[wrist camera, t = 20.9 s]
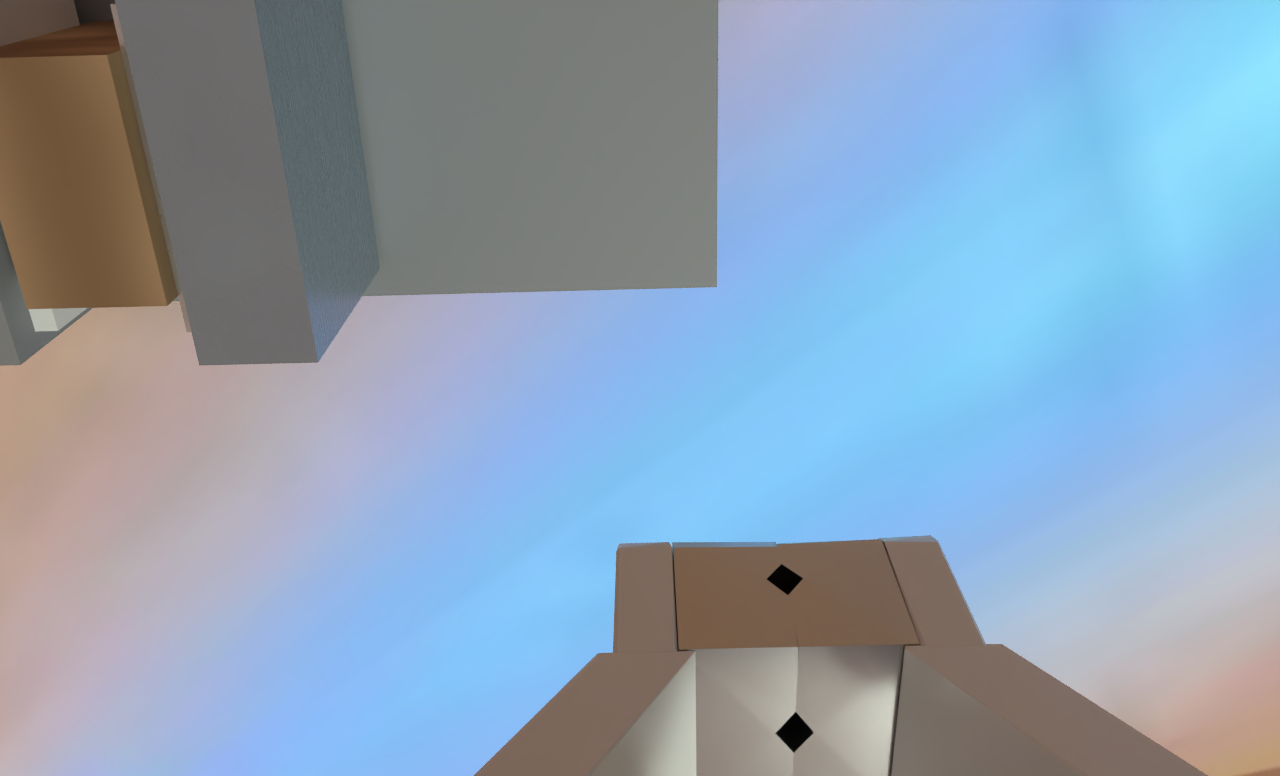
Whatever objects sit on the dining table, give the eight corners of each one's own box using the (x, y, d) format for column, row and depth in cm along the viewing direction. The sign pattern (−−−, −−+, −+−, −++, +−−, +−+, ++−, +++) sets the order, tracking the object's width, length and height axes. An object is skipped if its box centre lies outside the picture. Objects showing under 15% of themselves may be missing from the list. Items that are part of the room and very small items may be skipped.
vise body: (713, -97, 30) (740, -87, 22) (712, 265, 35) (734, 382, 27) (-44, -75, 31) (-290, -56, 22) (58, 282, 35) (-114, 403, 27)
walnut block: (219, 17, 30) (106, 55, 23) (259, 222, 32) (167, 305, 26) (97, 20, 30) (-49, 59, 23) (146, 224, 32) (27, 309, 26)
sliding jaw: (335, -43, 29) (250, -21, 22) (379, 268, 33) (317, 362, 26) (204, -40, 29) (83, -15, 23) (264, 271, 33) (175, 366, 26)
